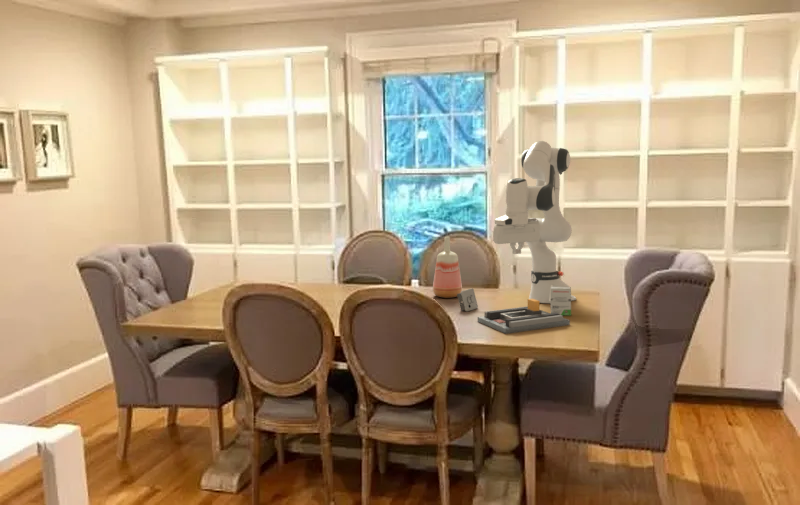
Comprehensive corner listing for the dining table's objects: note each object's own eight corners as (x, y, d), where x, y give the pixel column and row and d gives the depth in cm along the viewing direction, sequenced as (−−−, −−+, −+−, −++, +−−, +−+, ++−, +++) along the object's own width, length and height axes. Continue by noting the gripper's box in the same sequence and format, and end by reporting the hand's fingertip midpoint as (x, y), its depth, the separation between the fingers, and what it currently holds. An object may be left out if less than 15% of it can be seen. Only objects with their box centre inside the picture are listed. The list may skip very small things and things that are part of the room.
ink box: (571, 313, 288) (571, 286, 287) (571, 315, 284) (571, 288, 282) (550, 312, 290) (550, 286, 289) (550, 315, 286) (550, 288, 284)
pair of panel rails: (533, 310, 287) (533, 304, 286) (563, 320, 267) (563, 314, 267) (484, 316, 278) (484, 310, 277) (511, 327, 258) (511, 321, 258)
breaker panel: (538, 313, 289) (538, 304, 288) (569, 324, 268) (569, 315, 268) (477, 321, 277) (477, 312, 277) (505, 333, 257) (505, 323, 257)
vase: (467, 295, 332) (466, 236, 327) (453, 300, 320) (452, 239, 315) (441, 292, 339) (441, 234, 335) (427, 297, 327) (426, 237, 323)
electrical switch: (467, 312, 295) (465, 291, 294) (457, 311, 298) (455, 291, 297) (478, 308, 302) (476, 288, 301) (468, 308, 305) (467, 288, 305)
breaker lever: (533, 314, 278) (533, 298, 277) (541, 317, 272) (541, 300, 271) (525, 315, 276) (525, 299, 275) (533, 318, 271) (533, 301, 270)
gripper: (534, 217, 273) (534, 250, 274) (491, 220, 265) (491, 254, 267) (543, 218, 267) (543, 252, 269) (499, 221, 259) (499, 256, 261)
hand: (516, 253), depth 268 cm, fingers closed
